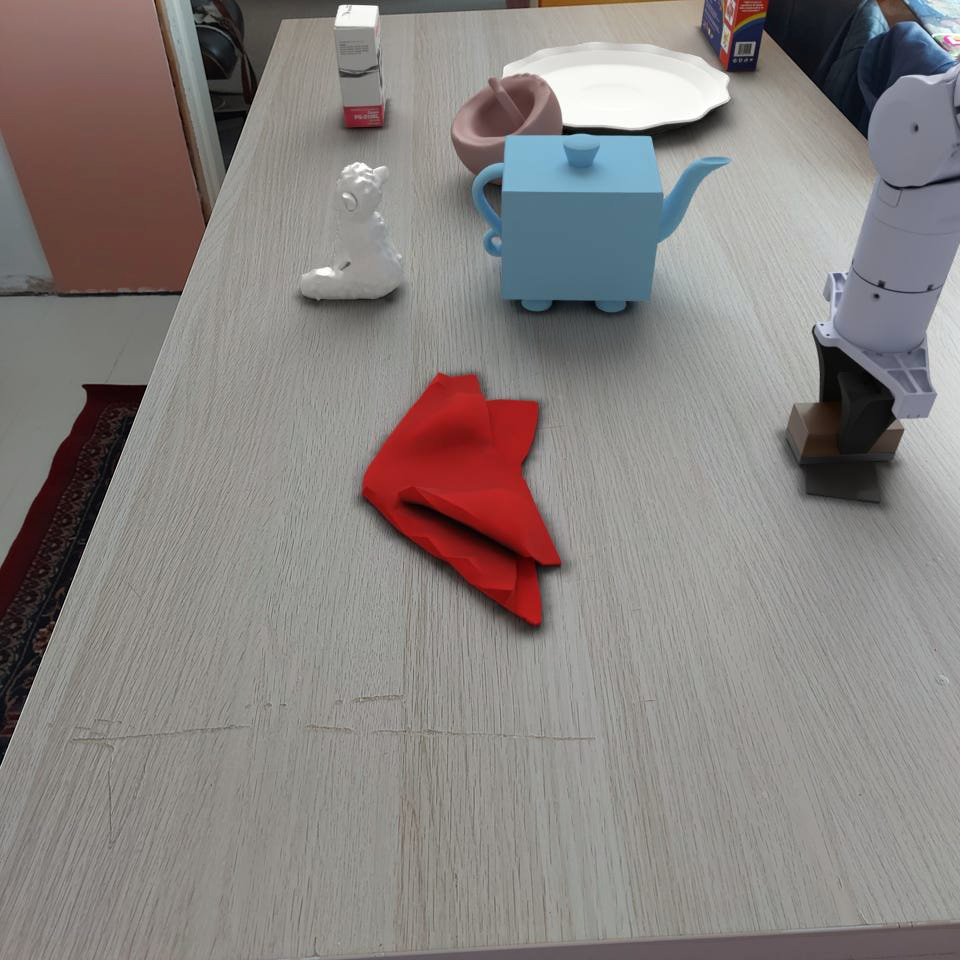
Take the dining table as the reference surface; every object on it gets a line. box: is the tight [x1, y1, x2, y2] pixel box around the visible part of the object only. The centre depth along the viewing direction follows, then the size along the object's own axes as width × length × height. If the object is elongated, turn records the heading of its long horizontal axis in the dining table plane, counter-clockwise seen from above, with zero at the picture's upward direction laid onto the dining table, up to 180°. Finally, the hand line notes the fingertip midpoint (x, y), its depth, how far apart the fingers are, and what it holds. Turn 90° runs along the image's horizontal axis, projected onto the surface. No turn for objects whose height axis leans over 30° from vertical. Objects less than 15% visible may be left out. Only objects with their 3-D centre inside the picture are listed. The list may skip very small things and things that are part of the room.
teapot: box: [471, 133, 733, 313], centre depth 81 cm, size 22×11×14 cm, turn 87°
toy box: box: [700, 0, 770, 72], centre depth 127 cm, size 18×4×12 cm, turn 1°
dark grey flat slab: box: [803, 461, 881, 504], centre depth 67 cm, size 5×8×1 cm, turn 168°
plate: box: [500, 41, 731, 136], centre depth 117 cm, size 29×29×2 cm
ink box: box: [333, 4, 387, 129], centre depth 112 cm, size 8×5×12 cm, turn 2°
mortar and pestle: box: [450, 73, 563, 186], centre depth 98 cm, size 12×12×12 cm
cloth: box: [361, 371, 563, 627], centre depth 65 cm, size 26×14×2 cm, turn 1°
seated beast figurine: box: [299, 161, 405, 301], centre depth 82 cm, size 10×9×12 cm
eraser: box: [784, 401, 906, 465], centre depth 67 cm, size 7×4×3 cm, turn 93°
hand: (842, 432), depth 67 cm, fingers closed on eraser, 3 cm apart
